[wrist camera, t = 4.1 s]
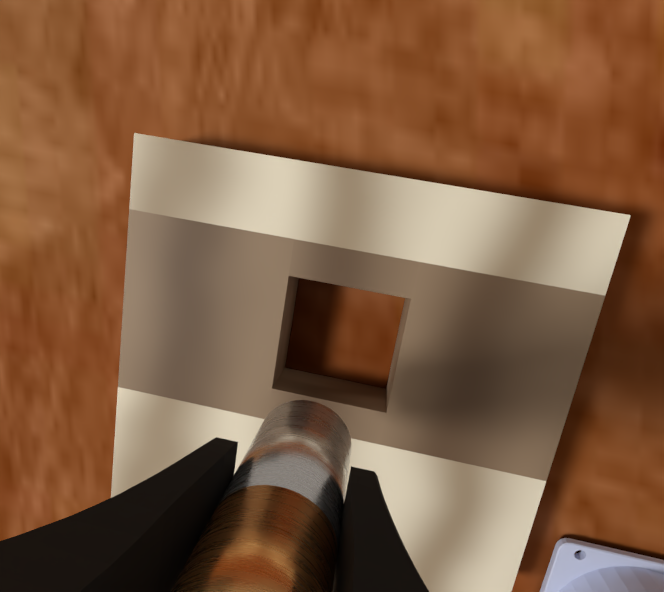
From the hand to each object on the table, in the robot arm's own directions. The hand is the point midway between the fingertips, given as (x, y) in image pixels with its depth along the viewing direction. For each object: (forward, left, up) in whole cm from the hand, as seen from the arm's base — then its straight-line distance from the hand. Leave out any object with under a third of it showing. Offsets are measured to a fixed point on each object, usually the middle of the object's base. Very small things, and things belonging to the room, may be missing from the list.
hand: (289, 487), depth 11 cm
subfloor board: (0, 0, -9) cm, 9 cm away
